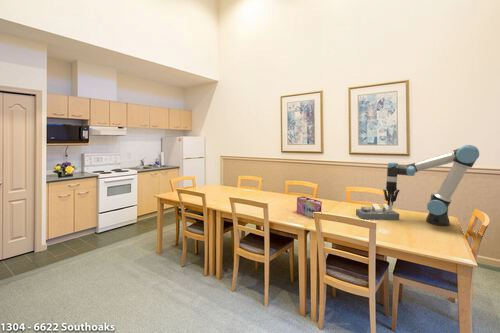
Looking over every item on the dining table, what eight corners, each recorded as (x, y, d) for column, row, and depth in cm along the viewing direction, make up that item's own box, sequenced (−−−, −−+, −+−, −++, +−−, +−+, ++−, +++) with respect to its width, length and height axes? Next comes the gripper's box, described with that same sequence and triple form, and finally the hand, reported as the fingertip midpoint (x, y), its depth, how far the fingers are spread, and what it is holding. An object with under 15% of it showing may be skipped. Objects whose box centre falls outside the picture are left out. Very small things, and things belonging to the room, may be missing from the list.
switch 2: (377, 205, 224) (377, 203, 223) (381, 212, 216) (382, 210, 215) (371, 205, 225) (371, 203, 224) (375, 212, 217) (376, 210, 216)
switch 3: (387, 205, 224) (388, 203, 223) (392, 212, 216) (393, 210, 215) (381, 205, 224) (382, 203, 223) (386, 212, 216) (387, 210, 215)
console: (390, 214, 226) (391, 205, 225) (399, 219, 213) (399, 210, 212) (355, 214, 227) (356, 205, 226) (362, 219, 213) (362, 210, 212)
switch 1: (366, 209, 224) (366, 206, 225) (371, 209, 216) (371, 206, 216) (361, 209, 225) (360, 206, 225) (365, 209, 216) (365, 206, 216)
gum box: (322, 217, 219) (323, 202, 217) (316, 219, 215) (316, 203, 213) (302, 210, 239) (303, 196, 237) (296, 212, 235) (296, 197, 233)
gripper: (397, 180, 216) (395, 208, 219) (381, 180, 217) (379, 208, 219) (402, 182, 209) (400, 210, 211) (385, 182, 209) (384, 210, 212)
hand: (389, 209), depth 215 cm, fingers closed
